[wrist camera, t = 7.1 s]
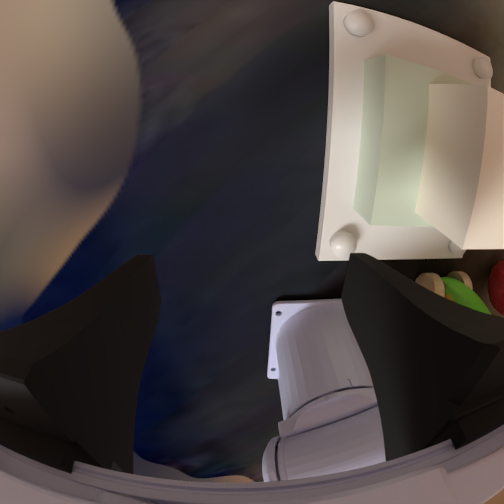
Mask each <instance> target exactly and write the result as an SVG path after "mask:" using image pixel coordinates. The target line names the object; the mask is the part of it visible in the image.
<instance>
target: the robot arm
mask: <svg viewBox="0 0 504 504" xmlns="http://www.w3.org/2000/svg"><path fill="white" fill-rule="evenodd" d="M160 305H161V297H160V292H159V286H158V281H157V275H156V269H155V263H154V257H153V255H137V256H135V257H133V258H132V259H130V260H129V261H128V262H126V263H125V264H123V265H122V266H121V267H119V268H118V269H117V270H115V271H114V272H113V273H111V274H110V275H108V276H107V277H106V278H104V279H103V280H102V281H100V282H99V283H97V284H96V285H94V286H93V287H92V288H90V289H89V290H87V291H86V292H84V293H83V294H81V295H80V296H78V297H77V298H75V299H73V300H72V301H70V302H68V303H66V304H65V305H63V306H61V307H59V308H57V309H56V310H53V311H51V312H49V313H47V314H45V315H43V316H41V317H39V318H37V319H35V320H32V321H30V322H27V323H25V324H22V325H19V326H17V327H14V328H11V329H8V330H5V331H1V332H0V504H483V503H485V502H486V501H488V500H489V499H490V498H491V497H493V496H495V495H496V494H497V493H498V492H500V491H501V490H502V489H504V318H502V317H498V316H494V315H490V314H487V313H483V312H480V311H477V310H474V309H471V308H469V307H466V306H463V305H461V304H458V303H456V302H453V301H451V300H449V299H447V298H445V297H443V296H440V295H438V294H436V293H434V292H432V291H430V290H428V289H427V288H425V287H423V286H421V285H420V284H418V283H416V282H414V281H413V280H411V279H409V278H407V277H406V276H404V275H403V274H401V273H399V272H398V271H396V270H394V269H393V268H391V267H390V266H388V265H386V264H385V263H383V262H381V261H380V260H378V259H376V258H374V257H372V256H370V255H368V254H366V253H350V256H349V261H348V266H347V271H346V276H345V281H344V286H343V290H342V295H341V299H323V300H297V301H276V302H275V303H274V304H273V306H272V318H271V332H270V345H269V358H268V370H267V376H268V378H270V379H278V382H279V389H280V396H281V404H282V411H283V419H284V421H281V422H279V423H278V426H279V434H280V436H277V437H274V438H272V439H271V440H270V441H269V443H268V445H267V448H266V449H265V451H264V454H263V460H262V471H263V479H264V482H250V483H211V482H192V481H180V480H169V479H161V478H153V477H146V476H140V475H134V474H133V442H134V425H135V415H136V406H137V398H138V392H139V385H140V379H141V375H142V371H143V368H144V364H145V361H146V358H147V354H148V351H149V348H150V345H151V342H152V338H153V335H154V332H155V329H156V326H157V322H158V316H159V311H160ZM277 311H281V312H280V313H276V312H277Z"/></svg>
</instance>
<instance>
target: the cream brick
mask: <svg viewBox="0 0 504 504" xmlns="http://www.w3.org/2000/svg"><path fill="white" fill-rule="evenodd" d="M415 213H416V214H418V215H419V216H420V217H422V218H423V219H424V220H426V221H427V222H428V223H430V224H431V225H432V226H434V227H435V228H436V229H438V230H439V231H440V232H441V233H443V234H444V235H445V236H446V237H448V238H449V239H450V240H451V241H453V242H454V243H455V244H456V245H457V246H459V247H460V248H461V249H504V94H503V93H501V92H499V91H497V90H495V89H493V88H491V87H489V86H484V85H468V84H429V100H428V117H427V130H426V141H425V150H424V158H423V166H422V173H421V179H420V186H419V192H418V197H417V203H416V208H415Z"/></svg>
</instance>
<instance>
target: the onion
mask: <svg viewBox="0 0 504 504" xmlns="http://www.w3.org/2000/svg"><path fill="white" fill-rule="evenodd" d="M488 293H489V298H490V301H491V303H492V305H493V307H494V308H495V309H496V310H497V311H498V312H499V313H501V314H502V315H504V260H501V261H499V262H498V263H497V264H496V265H494V266H493V267H492V269H491V272H490V276H489V280H488Z"/></svg>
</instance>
